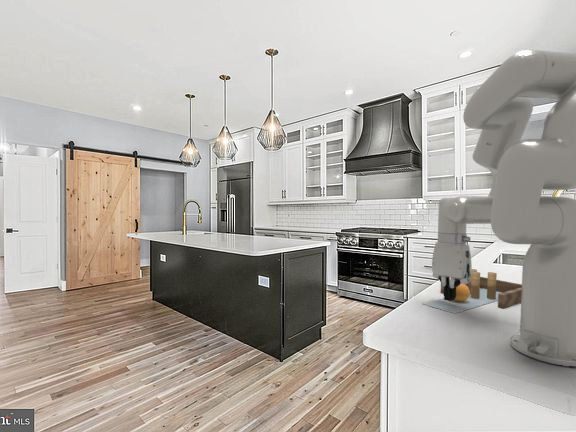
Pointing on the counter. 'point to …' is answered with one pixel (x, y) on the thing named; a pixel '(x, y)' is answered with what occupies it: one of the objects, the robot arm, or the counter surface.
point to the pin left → (470, 280)
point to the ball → (462, 293)
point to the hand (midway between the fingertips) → (449, 299)
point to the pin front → (475, 285)
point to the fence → (508, 289)
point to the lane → (462, 303)
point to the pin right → (491, 285)
